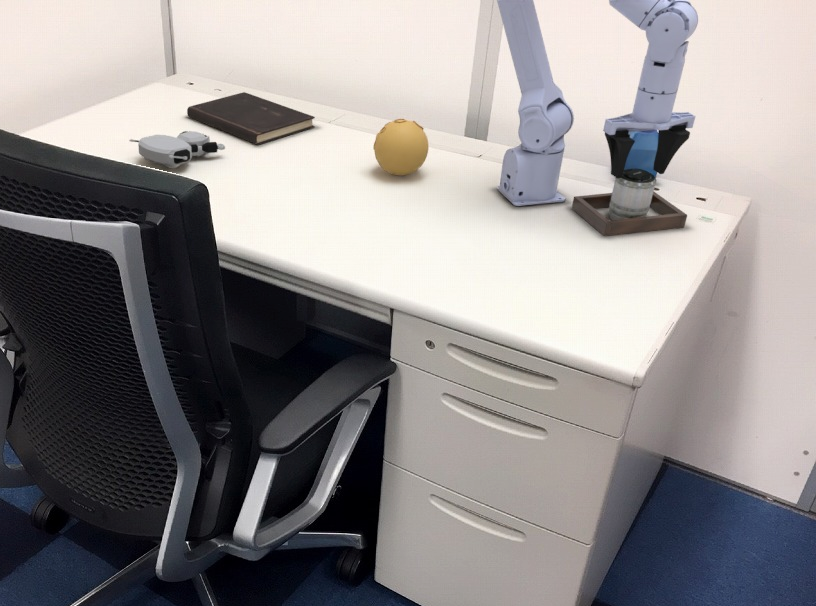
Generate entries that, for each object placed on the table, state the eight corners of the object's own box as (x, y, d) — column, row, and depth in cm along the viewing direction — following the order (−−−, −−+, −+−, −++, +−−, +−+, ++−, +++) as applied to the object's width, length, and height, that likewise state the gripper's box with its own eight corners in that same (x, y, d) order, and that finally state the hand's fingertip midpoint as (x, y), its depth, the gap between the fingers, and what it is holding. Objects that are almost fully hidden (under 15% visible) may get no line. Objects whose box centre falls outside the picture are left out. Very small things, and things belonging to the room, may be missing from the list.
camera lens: (599, 216, 143) (609, 171, 138) (622, 206, 146) (632, 162, 142) (630, 229, 139) (642, 183, 134) (654, 219, 142) (665, 174, 137)
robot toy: (188, 146, 172) (127, 160, 162) (188, 123, 169) (126, 136, 160) (229, 161, 165) (168, 177, 155) (229, 138, 162) (167, 153, 153)
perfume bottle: (654, 184, 154) (671, 118, 147) (618, 181, 155) (633, 115, 148) (650, 171, 159) (666, 107, 152) (615, 168, 160) (630, 104, 153)
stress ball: (437, 176, 157) (442, 122, 151) (394, 188, 153) (398, 133, 147) (403, 159, 164) (407, 107, 158) (362, 170, 159) (364, 117, 154)
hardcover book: (244, 102, 192) (244, 91, 191) (314, 127, 178) (314, 116, 177) (187, 117, 183) (186, 107, 182) (256, 145, 170) (255, 134, 168)
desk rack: (603, 236, 137) (606, 223, 136) (571, 208, 146) (573, 196, 144) (684, 227, 140) (687, 214, 138) (647, 200, 148) (650, 188, 147)
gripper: (628, 100, 126) (609, 187, 134) (715, 93, 128) (691, 179, 136) (604, 86, 131) (587, 170, 139) (688, 80, 134) (666, 163, 142)
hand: (637, 173), depth 138 cm, fingers open, 7 cm apart
